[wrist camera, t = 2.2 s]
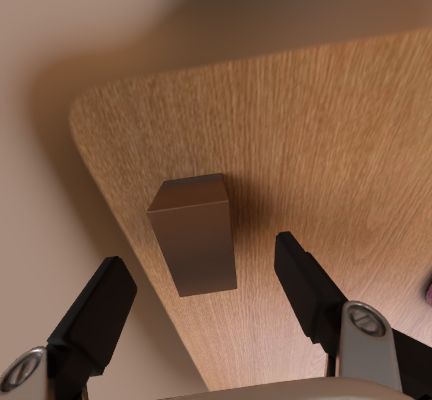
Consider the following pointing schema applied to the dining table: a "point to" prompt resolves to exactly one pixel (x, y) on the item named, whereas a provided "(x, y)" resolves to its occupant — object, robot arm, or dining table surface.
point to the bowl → (429, 296)
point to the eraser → (195, 234)
